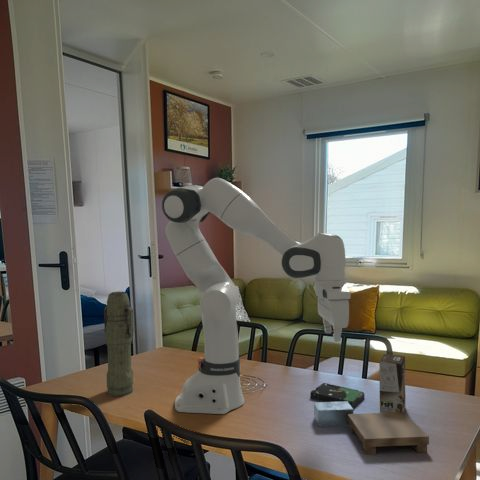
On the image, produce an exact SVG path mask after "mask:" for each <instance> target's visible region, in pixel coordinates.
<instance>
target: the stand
mask: <svg viewBox="0 0 480 480" xmlns="http://www.w3.org/2000/svg"><path fill="white" fill-rule="evenodd" d="M348 422H349V426H348V429H349V431H350V432H351V433H352V434H356V436H357V438H359V440H360V441H361V443H362V450H363V452H364V454H365V455H377V454H376V450H377V449H376V447H379V448H380V447H398V446H399V447H401V446H402V447H403V446H404V447H405V446H412V447H413V450H415V451H416V452H417V453H428V446H429V445H430V436H429V435H428V433H426V432H425V431H424V430H423V429H422V428H421V427H420V426H419V425H418V424H417V423H416V422H415V421H414V420H413V419H412V418H411V417H410V416H409V415H408V414H407V413H406V412H405V411H404V412H391V413H380V412H369V413H353V414H348Z"/></svg>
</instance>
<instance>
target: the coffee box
mask: <svg viewBox="0 0 480 480" xmlns="http://www.w3.org/2000/svg"><path fill="white" fill-rule="evenodd" d="M405 409H406V356H405V355H398V354H388V353H384V354H383V356H382V357H381V359H380V360H379V413H391V412H405Z"/></svg>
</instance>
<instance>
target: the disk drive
mask: <svg viewBox="0 0 480 480" xmlns="http://www.w3.org/2000/svg"><path fill="white" fill-rule="evenodd" d="M309 397H310V399H312V400H315V401H319V402H342V401H348V403H349V404H350V405H351V407H352V408H353V409H355V408H356V406H358V405H359V404H360V403H361V402H362V401H363V400H364V399H365V393H364V392H363V391H361V390H359V389H354V388H353V389H352V388H349V387H345V386H339V385H335V384H331V383H326V382H323V383H321V384H320V385H318V386H317V387H315V389H312V390H311V391H310V396H309Z"/></svg>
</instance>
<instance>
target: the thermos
mask: <svg viewBox="0 0 480 480" xmlns="http://www.w3.org/2000/svg"><path fill="white" fill-rule="evenodd" d="M103 320H104V333H105V344H106V346H107V372H106V387H107V395H108V396H110V397H114V398H116V397H117V398H118V397H123V396H124V397H125V396H127V395H130V394H132V393H133V391H134V389H133V384H134V371H133V369H132V345H131V344H132V343H133V337H134V309H133V307H132V306H130V299H129V296H128V293H127V292H126V291H112V292H110V293H108V296H107V300H106V305H105V307H104V309H103Z"/></svg>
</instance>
